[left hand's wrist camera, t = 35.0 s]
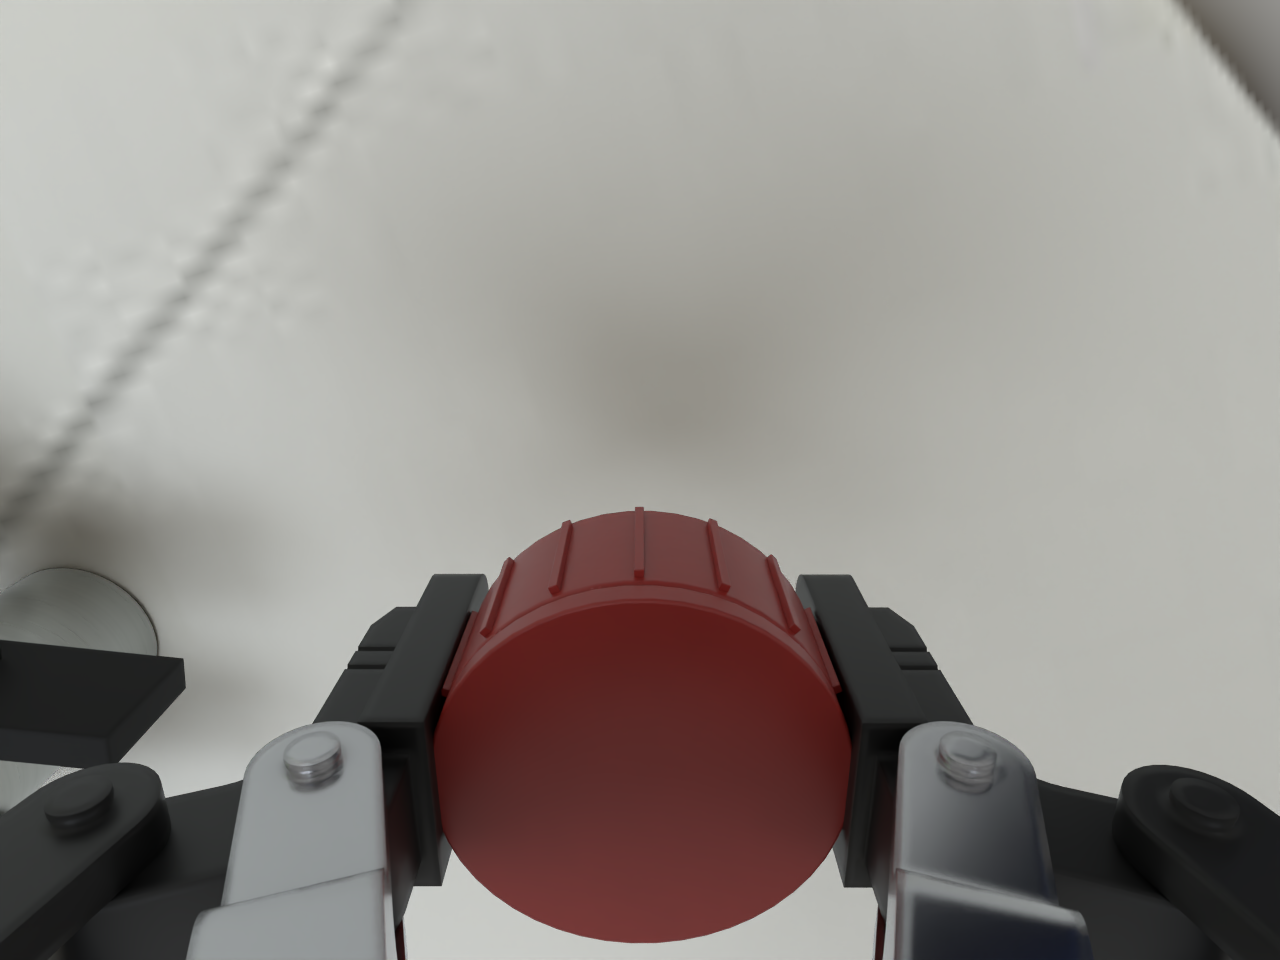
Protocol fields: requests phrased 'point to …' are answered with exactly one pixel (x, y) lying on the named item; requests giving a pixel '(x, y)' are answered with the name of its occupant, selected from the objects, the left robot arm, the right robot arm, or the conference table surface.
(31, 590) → the silver metal cylinder
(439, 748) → the lid
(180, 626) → the conference table surface
